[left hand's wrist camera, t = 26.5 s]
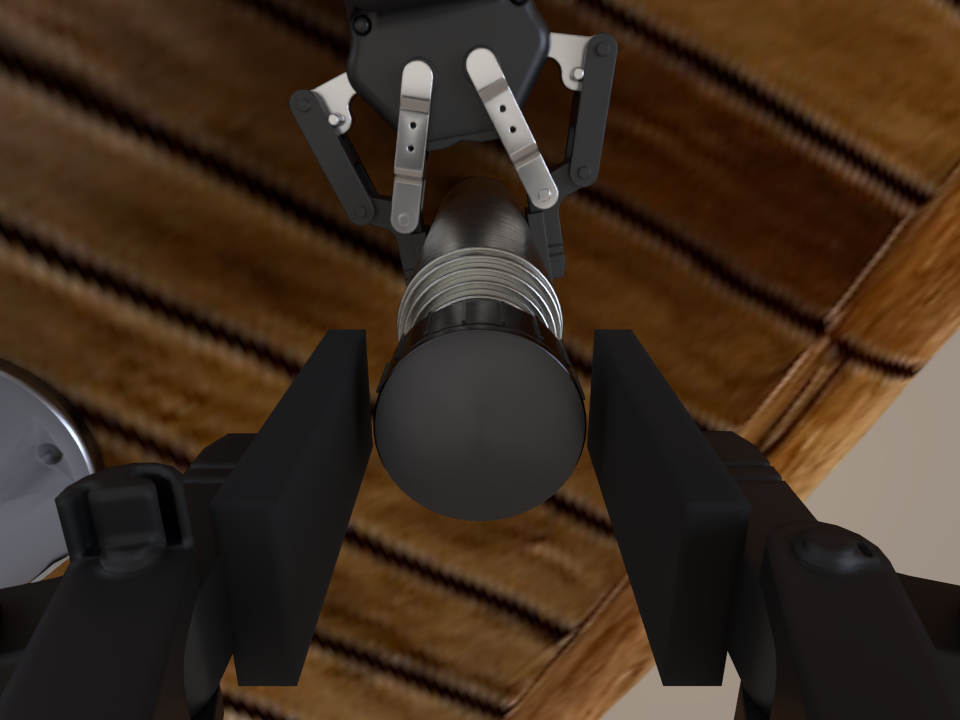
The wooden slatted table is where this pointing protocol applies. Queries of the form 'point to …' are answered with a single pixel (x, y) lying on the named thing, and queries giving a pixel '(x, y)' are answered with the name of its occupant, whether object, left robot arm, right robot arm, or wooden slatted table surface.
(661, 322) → the wooden slatted table surface
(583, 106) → the right robot arm
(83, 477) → the left robot arm
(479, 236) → the bottle
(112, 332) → the wooden slatted table surface
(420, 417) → the cap
